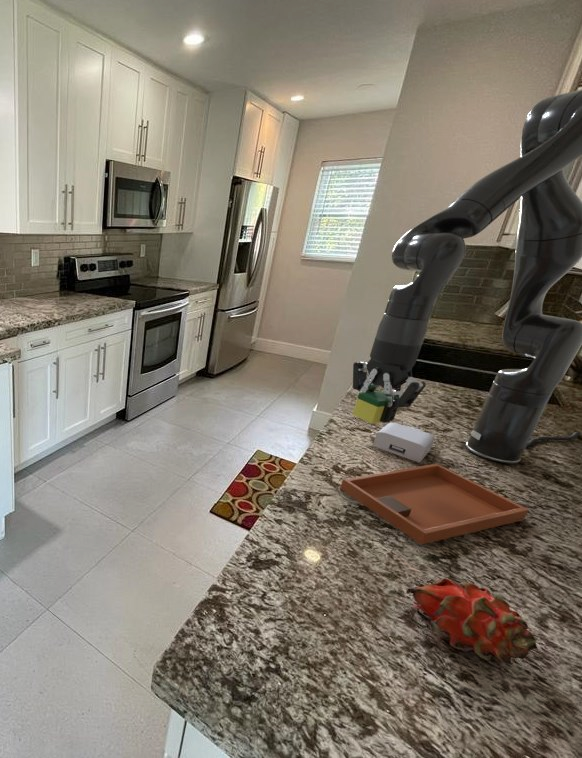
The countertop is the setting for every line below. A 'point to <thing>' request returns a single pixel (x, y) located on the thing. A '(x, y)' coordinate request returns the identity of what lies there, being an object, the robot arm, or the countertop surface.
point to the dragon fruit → (474, 619)
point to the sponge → (370, 406)
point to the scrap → (396, 505)
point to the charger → (404, 441)
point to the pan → (434, 502)
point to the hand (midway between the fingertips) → (373, 416)
